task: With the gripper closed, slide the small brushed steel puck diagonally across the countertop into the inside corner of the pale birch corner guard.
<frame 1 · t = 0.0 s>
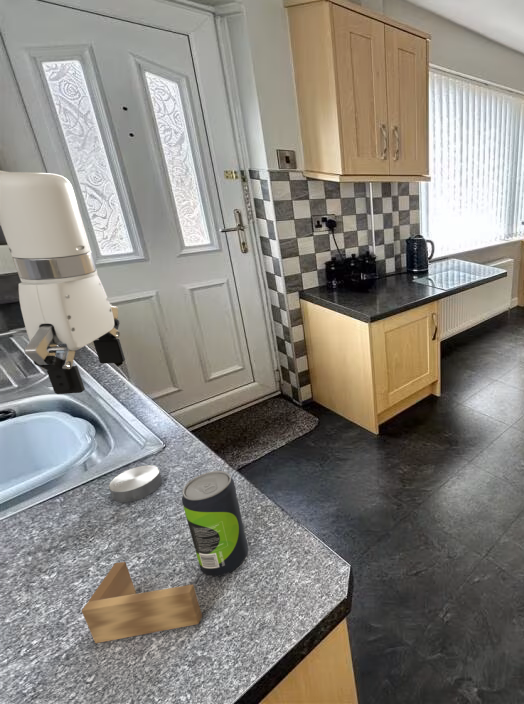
hand: (93, 376, 64), 27 cm above the worktop, tool pointing down, fingers open, 9 cm apart
brushed steel puck: (137, 488, 78), on the worktop
corner guard: (161, 608, 58), on the worktop
beverage can: (226, 562, 65), on the worktop
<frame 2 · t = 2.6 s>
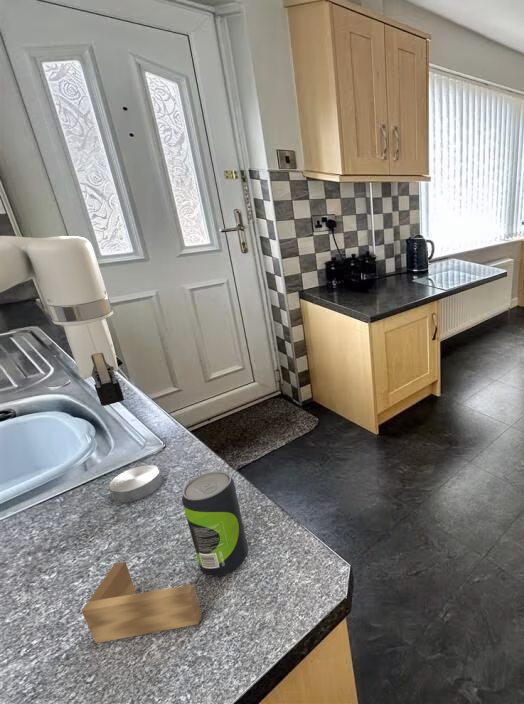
hand: (112, 401, 79), 15 cm above the worktop, tool pointing down, fingers closed
nothing on the worktop moved.
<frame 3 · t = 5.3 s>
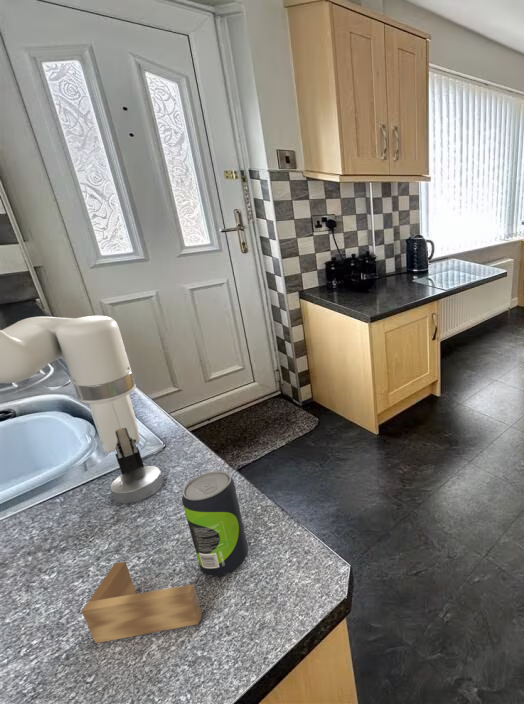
hand: (132, 469, 81), 2 cm above the worktop, tool pointing down, fingers closed
brushed steel puck: (139, 489, 78), on the worktop, touching gripper
everything else where it was.
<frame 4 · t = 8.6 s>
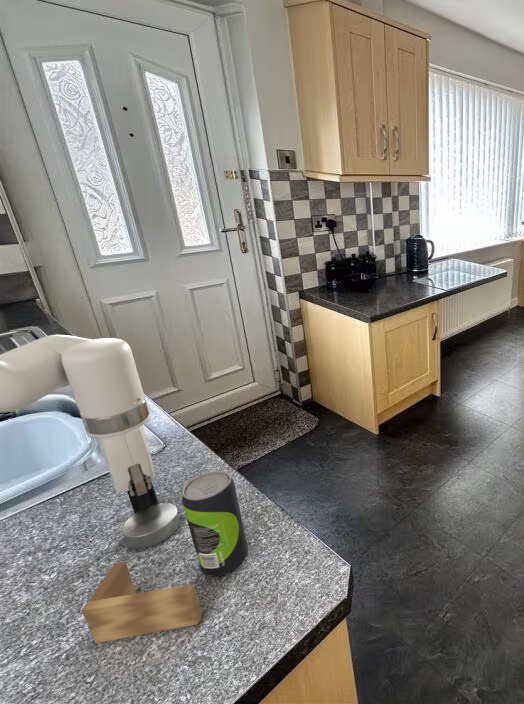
hand: (145, 506, 72), 2 cm above the worktop, tool pointing down, fingers closed
brushed steel puck: (153, 530, 70), on the worktop, touching gripper
everything else where it was.
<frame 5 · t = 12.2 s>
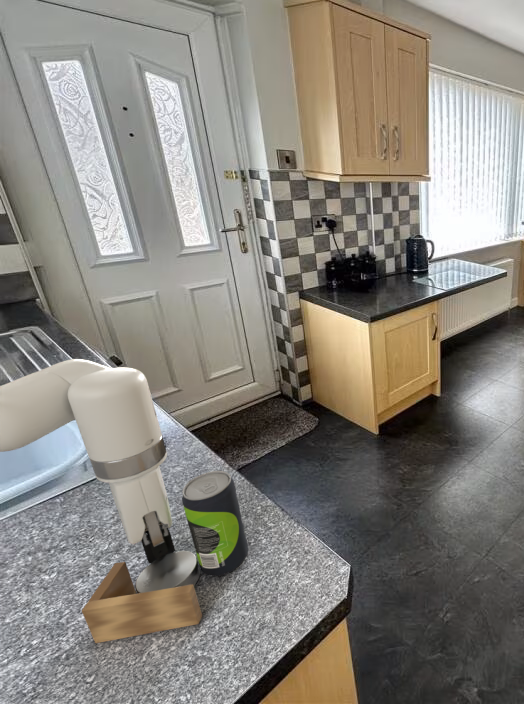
hand: (161, 554, 64), 2 cm above the worktop, tool pointing down, fingers closed
brushed steel puck: (170, 583, 62), on the worktop, touching gripper
everything else where it was.
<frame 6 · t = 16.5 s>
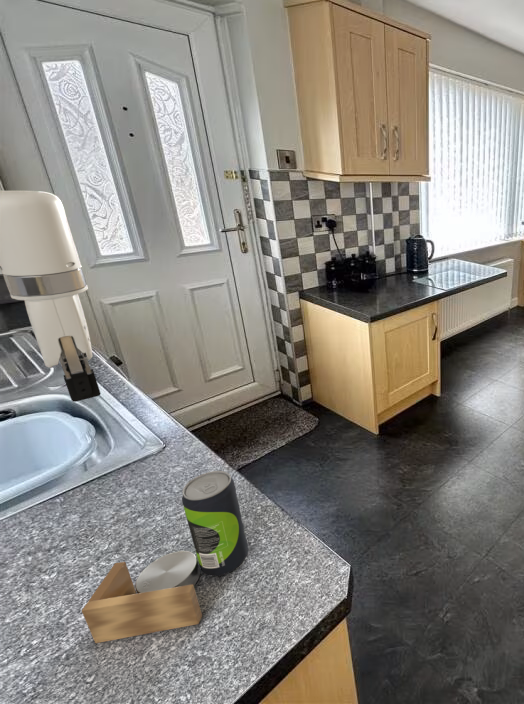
hand: (86, 396, 65), 23 cm above the worktop, tool pointing down, fingers closed
brushed steel puck: (170, 583, 62), on the worktop
everything else where it was.
at the end: brushed steel puck 0.7 cm from the target spot on the corner guard, point 0.0 cm above the corner guard's base; brushed steel puck moved 26.9 cm from its start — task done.
